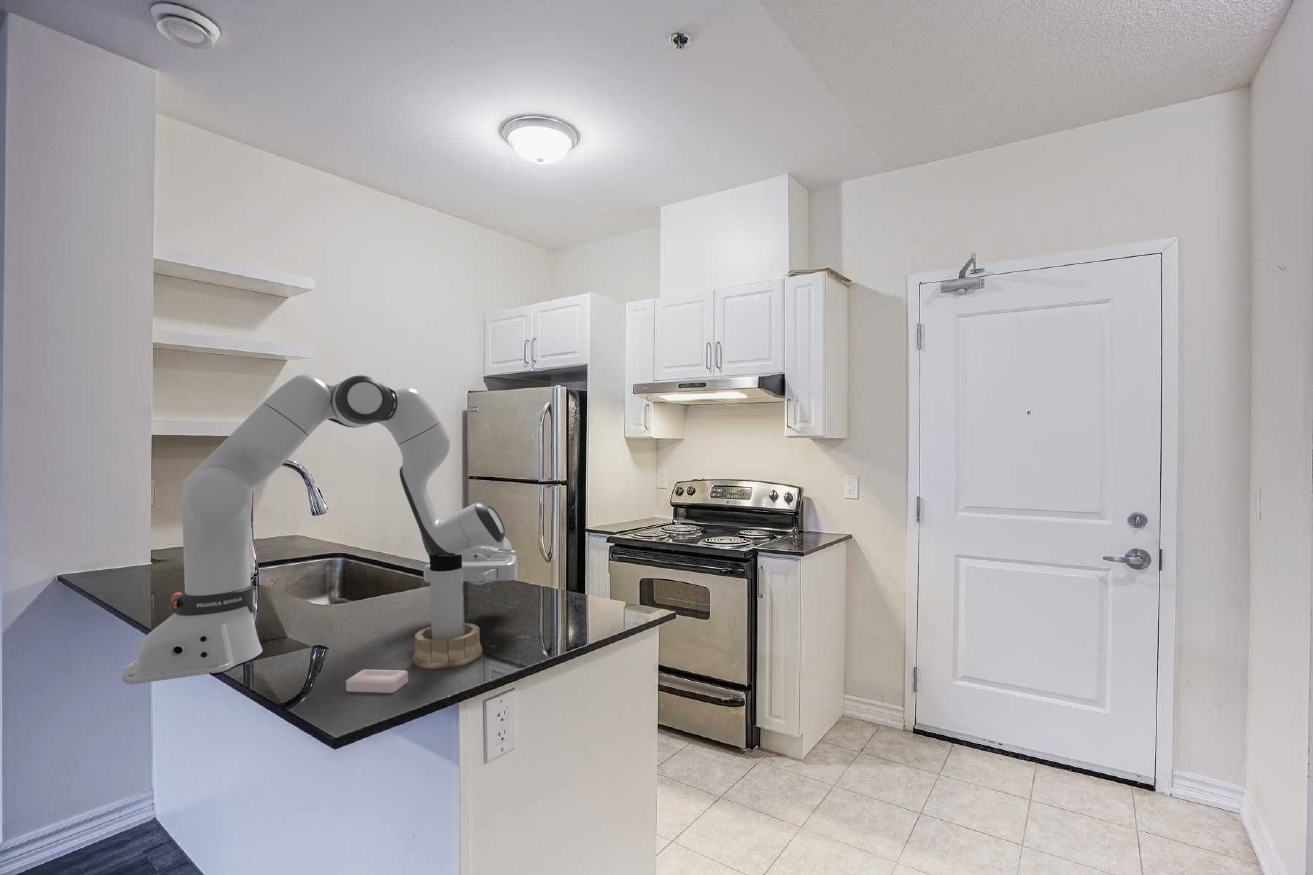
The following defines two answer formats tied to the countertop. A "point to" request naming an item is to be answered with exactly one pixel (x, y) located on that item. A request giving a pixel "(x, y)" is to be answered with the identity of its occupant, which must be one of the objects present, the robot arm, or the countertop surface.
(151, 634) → the robot arm
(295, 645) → the countertop surface
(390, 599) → the countertop surface
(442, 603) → the travel mug
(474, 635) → the cup holder
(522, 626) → the countertop surface
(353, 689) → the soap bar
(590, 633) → the countertop surface
